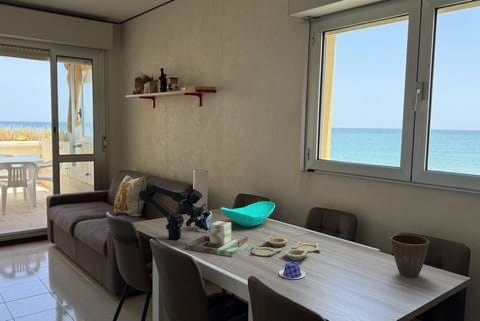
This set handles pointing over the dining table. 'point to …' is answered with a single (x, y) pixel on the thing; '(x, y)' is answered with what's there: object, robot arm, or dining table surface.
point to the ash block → (220, 232)
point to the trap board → (218, 246)
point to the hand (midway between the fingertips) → (207, 230)
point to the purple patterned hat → (292, 271)
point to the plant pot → (409, 254)
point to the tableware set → (294, 253)
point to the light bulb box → (208, 222)
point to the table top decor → (250, 213)
